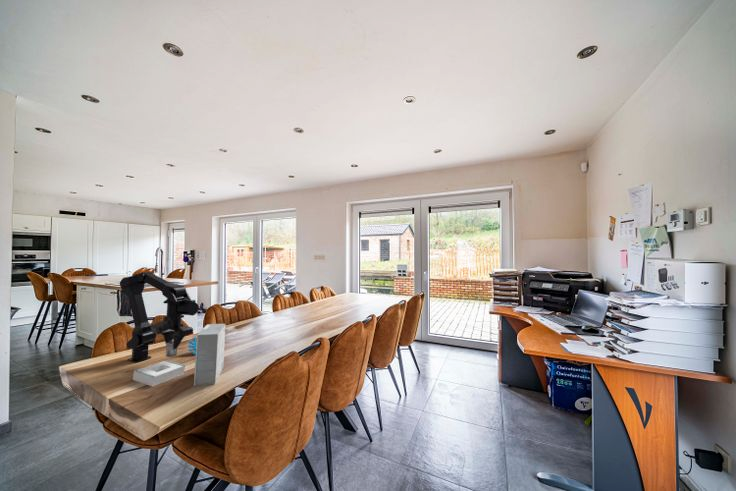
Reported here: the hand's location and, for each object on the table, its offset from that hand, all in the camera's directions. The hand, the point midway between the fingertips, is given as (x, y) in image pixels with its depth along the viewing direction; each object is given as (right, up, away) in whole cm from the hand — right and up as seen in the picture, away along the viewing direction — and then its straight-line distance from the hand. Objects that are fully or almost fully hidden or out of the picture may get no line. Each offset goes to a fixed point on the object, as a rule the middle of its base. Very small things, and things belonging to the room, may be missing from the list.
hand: (171, 348), depth 122 cm
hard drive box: (+23, -8, -11) cm, 27 cm away
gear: (+4, -8, +14) cm, 17 cm away
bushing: (0, -3, 0) cm, 3 cm away
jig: (+4, -7, -13) cm, 15 cm away
